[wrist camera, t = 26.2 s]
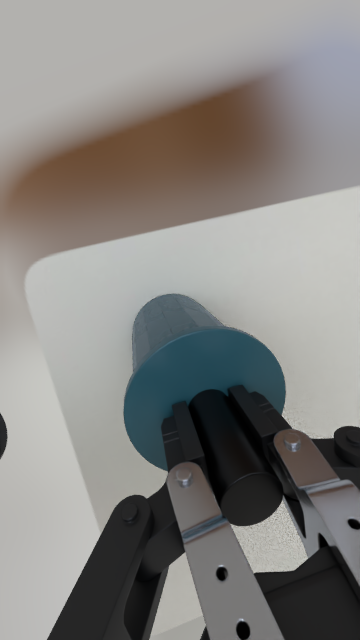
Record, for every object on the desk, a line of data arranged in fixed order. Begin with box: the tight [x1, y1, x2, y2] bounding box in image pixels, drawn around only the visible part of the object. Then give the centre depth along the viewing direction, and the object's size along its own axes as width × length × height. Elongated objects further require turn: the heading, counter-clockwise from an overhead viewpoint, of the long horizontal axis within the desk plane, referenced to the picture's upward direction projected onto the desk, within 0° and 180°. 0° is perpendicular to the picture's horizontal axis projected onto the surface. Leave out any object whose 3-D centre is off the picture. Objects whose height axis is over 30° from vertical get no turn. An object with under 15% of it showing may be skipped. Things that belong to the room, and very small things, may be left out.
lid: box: [124, 325, 286, 526], centre depth 11 cm, size 8×8×6 cm
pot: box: [132, 294, 224, 372], centre depth 20 cm, size 7×7×12 cm
